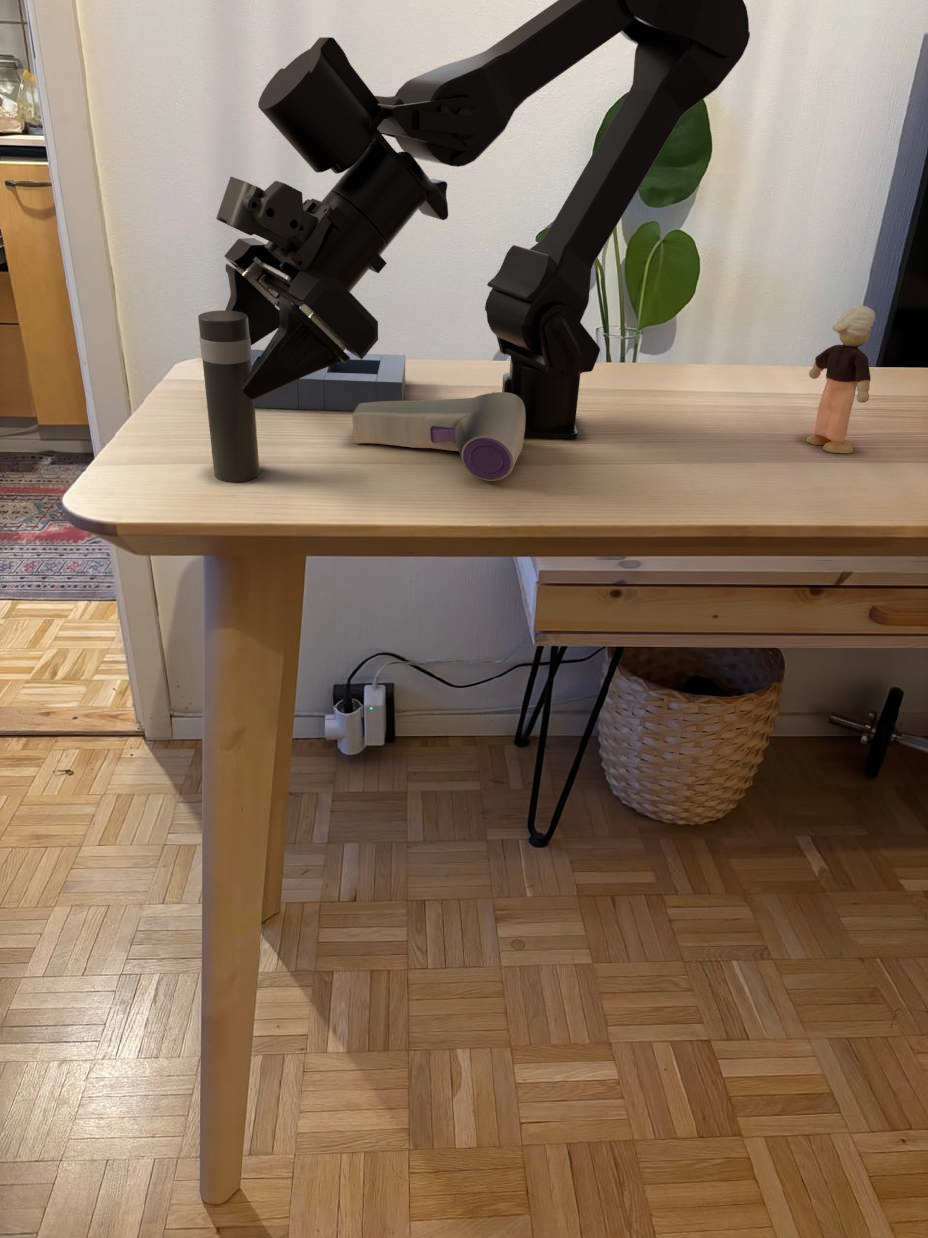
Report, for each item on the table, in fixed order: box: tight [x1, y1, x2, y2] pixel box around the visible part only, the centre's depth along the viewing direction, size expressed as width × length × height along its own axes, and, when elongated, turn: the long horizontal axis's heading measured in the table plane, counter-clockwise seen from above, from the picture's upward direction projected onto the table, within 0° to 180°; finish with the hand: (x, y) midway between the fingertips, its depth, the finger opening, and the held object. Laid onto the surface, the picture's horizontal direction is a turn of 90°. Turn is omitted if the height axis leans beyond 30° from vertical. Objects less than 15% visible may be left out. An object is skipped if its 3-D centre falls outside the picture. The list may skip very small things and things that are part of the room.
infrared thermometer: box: [351, 391, 526, 482], centre depth 79 cm, size 5×12×15 cm
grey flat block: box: [251, 349, 406, 412], centre depth 93 cm, size 18×10×3 cm, turn 91°
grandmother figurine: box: [806, 305, 876, 454], centre depth 84 cm, size 8×4×13 cm, turn 31°
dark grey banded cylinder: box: [197, 310, 261, 483], centre depth 72 cm, size 4×4×12 cm
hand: (227, 378), depth 71 cm, fingers open, 9 cm apart
